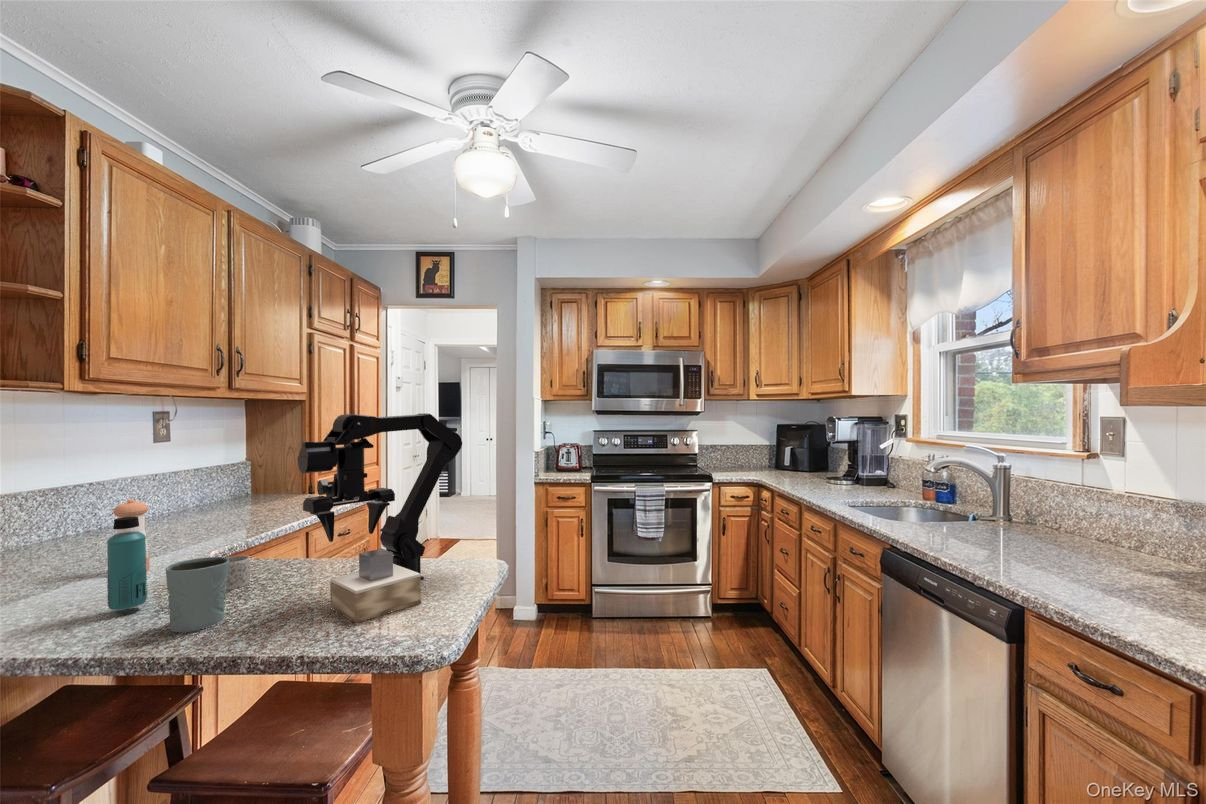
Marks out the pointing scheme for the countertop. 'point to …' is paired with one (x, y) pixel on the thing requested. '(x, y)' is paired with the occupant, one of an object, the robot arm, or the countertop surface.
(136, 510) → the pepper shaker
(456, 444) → the robot arm
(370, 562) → the block
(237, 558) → the mug
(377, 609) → the box
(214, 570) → the gray green planter pot
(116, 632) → the countertop surface
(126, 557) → the beverage bottle
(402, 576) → the lid
